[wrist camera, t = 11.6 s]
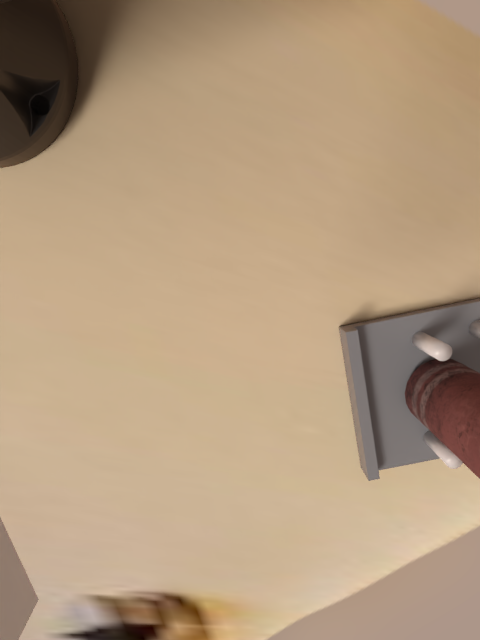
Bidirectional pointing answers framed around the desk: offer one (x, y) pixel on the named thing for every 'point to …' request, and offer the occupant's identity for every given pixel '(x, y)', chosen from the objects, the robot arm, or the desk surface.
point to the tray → (403, 379)
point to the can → (448, 406)
